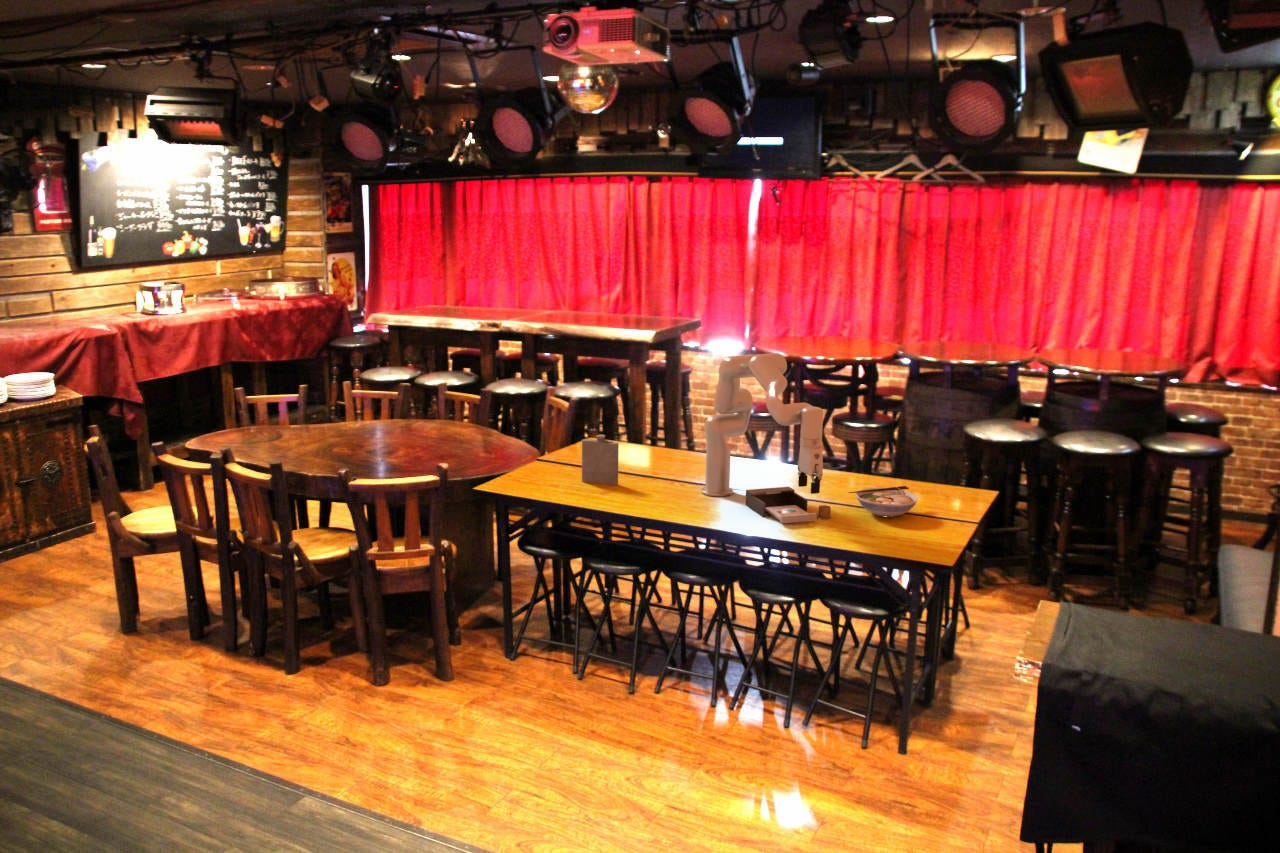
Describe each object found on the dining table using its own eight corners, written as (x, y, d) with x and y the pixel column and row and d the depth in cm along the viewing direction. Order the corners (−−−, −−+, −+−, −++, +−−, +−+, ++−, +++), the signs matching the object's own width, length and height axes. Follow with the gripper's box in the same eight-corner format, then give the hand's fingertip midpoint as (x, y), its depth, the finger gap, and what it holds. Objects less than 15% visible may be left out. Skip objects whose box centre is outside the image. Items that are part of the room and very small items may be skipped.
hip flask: (580, 481, 429) (580, 434, 425) (584, 479, 433) (584, 432, 429) (616, 486, 424) (616, 438, 419) (620, 483, 427) (620, 436, 423)
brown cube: (816, 516, 388) (816, 505, 387) (826, 515, 389) (827, 504, 388) (821, 519, 384) (822, 509, 383) (832, 518, 385) (832, 508, 384)
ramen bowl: (870, 526, 377) (871, 504, 375) (841, 508, 398) (842, 487, 396) (931, 521, 384) (933, 500, 382) (899, 503, 405) (901, 483, 403)
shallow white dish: (778, 513, 385) (778, 508, 385) (795, 511, 387) (795, 507, 387) (786, 518, 379) (786, 514, 378) (803, 517, 381) (804, 512, 380)
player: (745, 505, 400) (746, 489, 399) (788, 501, 406) (788, 486, 404) (762, 517, 385) (763, 501, 384) (806, 513, 391) (807, 497, 390)
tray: (763, 510, 390) (763, 504, 389) (797, 507, 394) (797, 501, 393) (781, 523, 375) (781, 516, 375) (816, 520, 379) (816, 513, 379)
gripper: (832, 447, 358) (830, 495, 362) (809, 436, 374) (807, 482, 378) (812, 448, 356) (810, 497, 359) (790, 437, 372) (788, 484, 376)
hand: (808, 489), depth 369 cm, fingers open, 9 cm apart
